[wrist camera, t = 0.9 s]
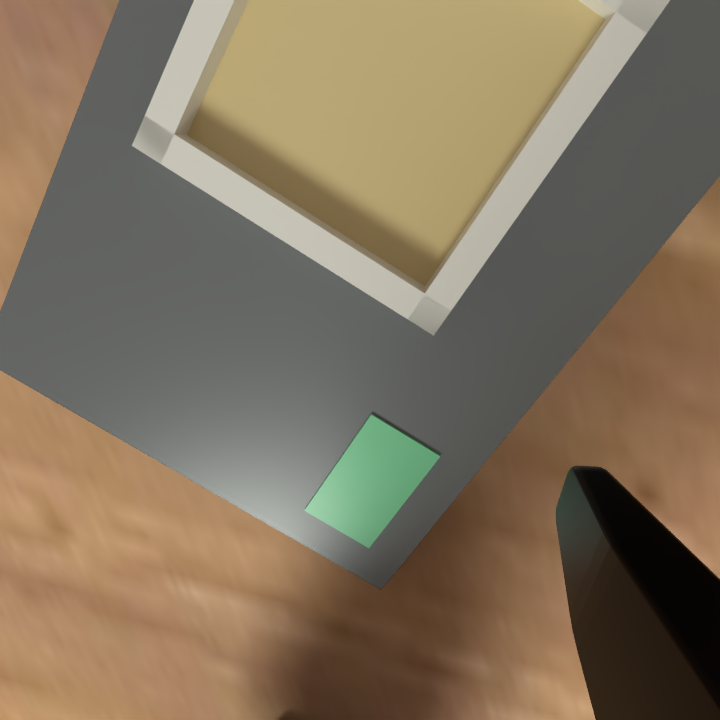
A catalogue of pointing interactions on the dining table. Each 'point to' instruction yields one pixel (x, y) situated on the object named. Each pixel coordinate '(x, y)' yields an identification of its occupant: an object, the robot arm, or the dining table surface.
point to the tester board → (354, 237)
